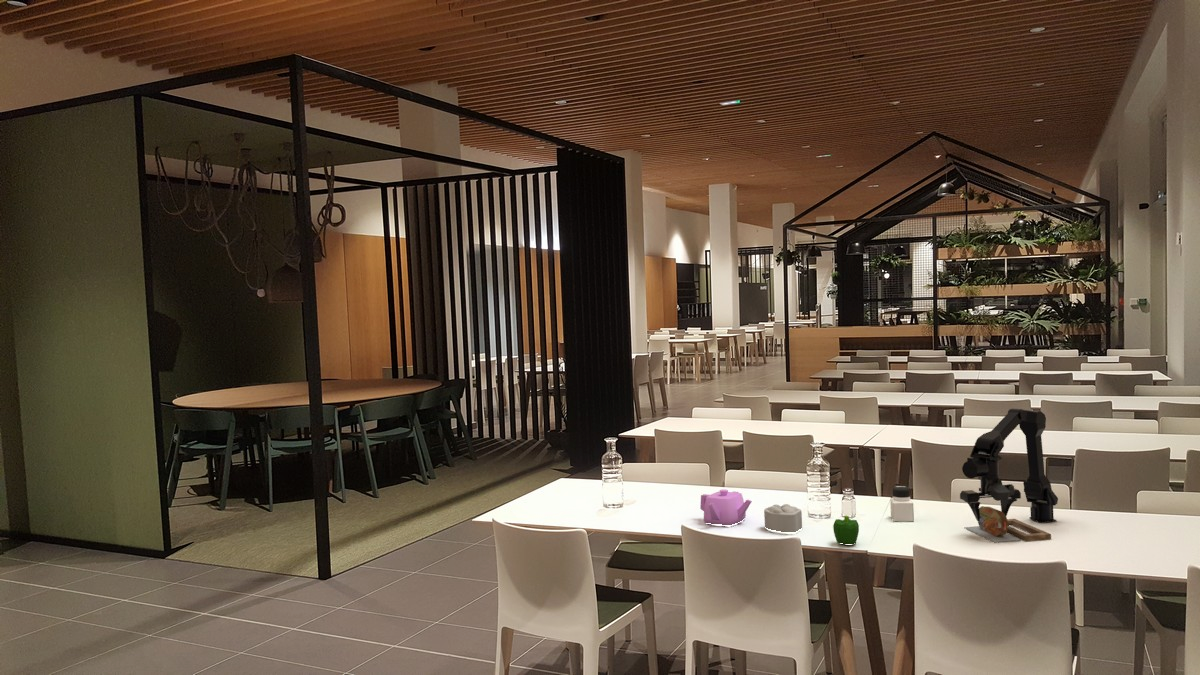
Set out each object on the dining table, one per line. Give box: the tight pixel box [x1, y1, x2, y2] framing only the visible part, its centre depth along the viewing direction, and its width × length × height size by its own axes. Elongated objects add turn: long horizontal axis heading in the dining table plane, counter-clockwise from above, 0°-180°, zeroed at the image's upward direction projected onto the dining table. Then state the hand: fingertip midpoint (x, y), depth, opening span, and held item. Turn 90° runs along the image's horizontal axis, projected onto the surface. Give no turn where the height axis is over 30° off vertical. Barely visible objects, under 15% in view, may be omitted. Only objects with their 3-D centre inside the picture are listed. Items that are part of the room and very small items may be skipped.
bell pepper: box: [832, 515, 860, 545], centre depth 284 cm, size 8×8×10 cm
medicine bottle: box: [889, 485, 915, 522], centre depth 312 cm, size 7×7×12 cm
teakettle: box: [699, 488, 752, 525], centre depth 321 cm, size 17×17×12 cm
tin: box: [977, 505, 1008, 536], centre depth 287 cm, size 15×3×8 cm, turn 5°
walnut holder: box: [1006, 518, 1052, 542], centre depth 288 cm, size 9×21×2 cm, turn 5°
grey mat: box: [963, 525, 1022, 544], centre depth 287 cm, size 9×19×1 cm, turn 5°
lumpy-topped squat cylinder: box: [763, 503, 803, 532], centre depth 306 cm, size 10×13×9 cm
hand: (991, 519), depth 287 cm, fingers open, 9 cm apart
